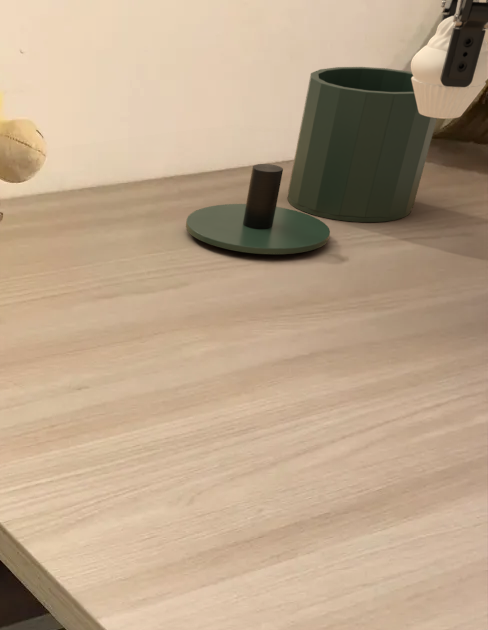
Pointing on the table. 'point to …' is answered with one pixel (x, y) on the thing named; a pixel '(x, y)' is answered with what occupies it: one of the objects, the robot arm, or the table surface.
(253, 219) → the tin lid
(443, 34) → the muffin
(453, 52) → the robot arm
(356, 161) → the tin
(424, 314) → the table surface
